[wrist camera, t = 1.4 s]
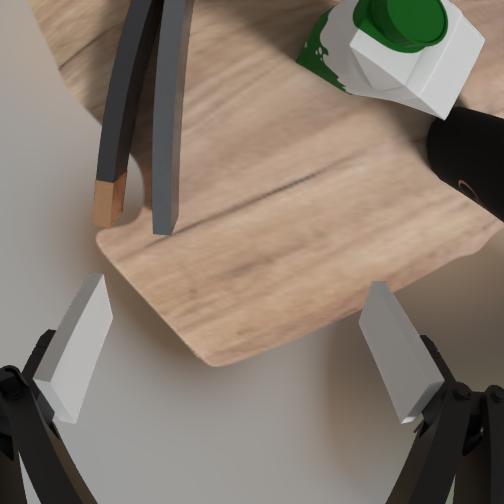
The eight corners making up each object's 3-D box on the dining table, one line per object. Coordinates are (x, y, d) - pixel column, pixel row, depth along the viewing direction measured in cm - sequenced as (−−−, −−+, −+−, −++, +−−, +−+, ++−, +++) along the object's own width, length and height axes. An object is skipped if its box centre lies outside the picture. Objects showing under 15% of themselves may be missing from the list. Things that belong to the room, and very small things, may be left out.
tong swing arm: (152, -15, 23) (140, -27, 19) (170, -13, 24) (161, -26, 20) (107, 207, 36) (92, 224, 32) (122, 211, 36) (109, 228, 32)
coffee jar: (413, 171, 36) (506, 237, 20) (432, 93, 31) (542, 121, 15) (468, 189, 37) (554, 252, 22) (487, 121, 32) (585, 160, 17)
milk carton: (320, 4, 26) (411, -61, 8) (387, 47, 28) (514, 41, 11) (283, 65, 29) (347, 44, 12) (353, 106, 32) (467, 143, 15)
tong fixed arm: (164, -48, 21) (154, -65, 17) (203, -50, 22) (199, -67, 17) (144, 214, 37) (133, 232, 33) (179, 216, 37) (173, 235, 33)
